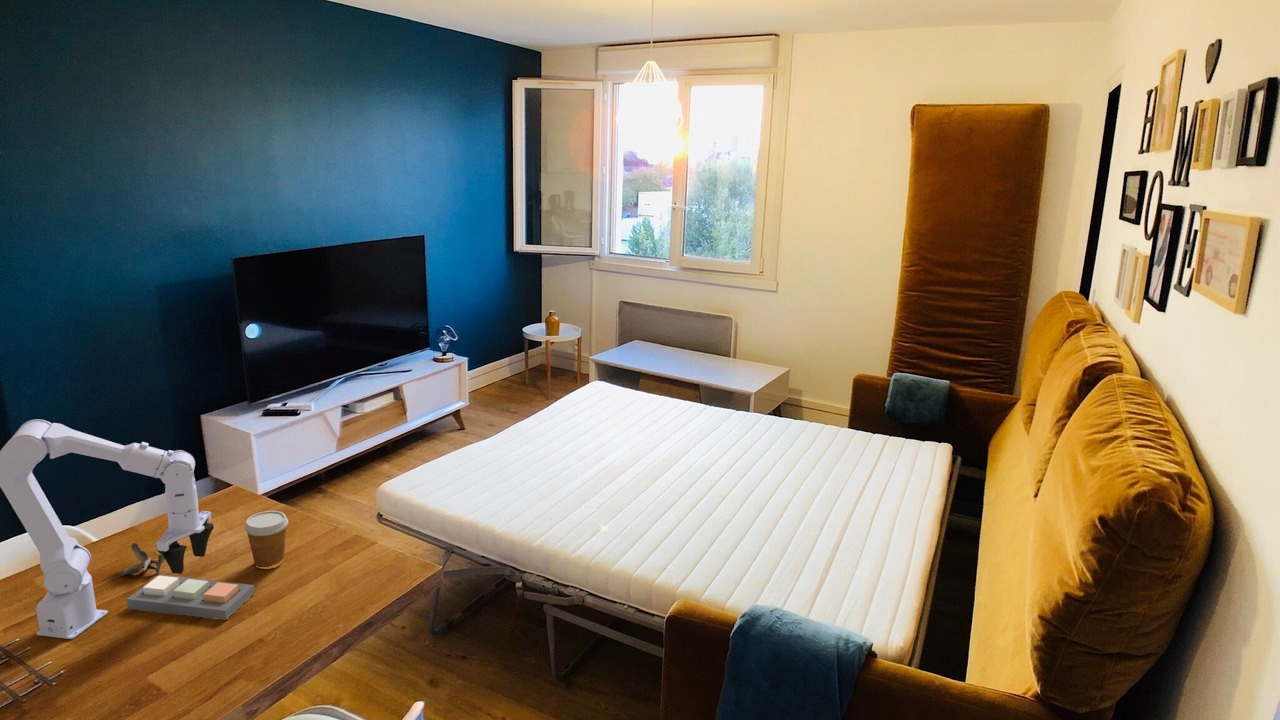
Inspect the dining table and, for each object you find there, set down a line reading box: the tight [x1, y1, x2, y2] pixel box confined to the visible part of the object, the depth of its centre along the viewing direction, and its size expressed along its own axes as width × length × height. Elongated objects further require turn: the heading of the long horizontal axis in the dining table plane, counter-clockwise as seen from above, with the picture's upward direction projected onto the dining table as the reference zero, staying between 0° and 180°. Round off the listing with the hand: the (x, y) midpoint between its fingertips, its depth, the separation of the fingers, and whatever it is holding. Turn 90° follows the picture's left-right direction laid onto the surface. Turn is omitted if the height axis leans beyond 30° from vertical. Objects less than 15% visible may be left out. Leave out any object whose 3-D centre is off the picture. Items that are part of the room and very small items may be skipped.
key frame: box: [126, 573, 255, 620], centre depth 164 cm, size 10×23×2 cm, turn 85°
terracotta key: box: [204, 582, 239, 604], centre depth 163 cm, size 5×5×3 cm
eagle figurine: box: [119, 542, 165, 577], centre depth 173 cm, size 8×7×9 cm
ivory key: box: [142, 575, 180, 597], centre depth 164 cm, size 5×5×3 cm
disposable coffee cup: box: [244, 510, 289, 567], centre depth 179 cm, size 10×10×12 cm
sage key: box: [173, 579, 209, 600], centre depth 163 cm, size 5×5×3 cm
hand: (188, 564), depth 161 cm, fingers open, 6 cm apart
